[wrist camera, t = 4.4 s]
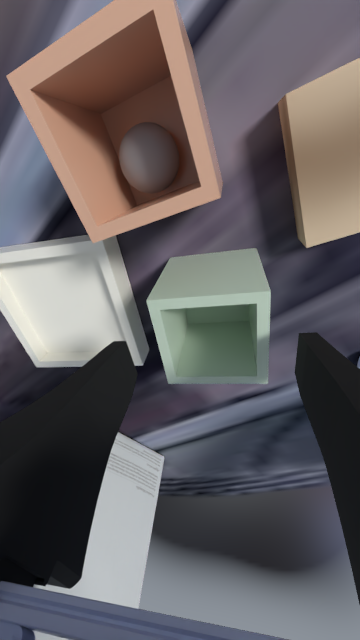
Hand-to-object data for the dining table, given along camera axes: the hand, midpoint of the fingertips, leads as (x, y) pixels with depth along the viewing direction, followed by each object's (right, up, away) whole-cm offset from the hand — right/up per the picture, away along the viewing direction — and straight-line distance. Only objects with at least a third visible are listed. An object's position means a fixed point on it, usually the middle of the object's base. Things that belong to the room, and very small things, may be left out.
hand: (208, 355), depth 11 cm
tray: (-9, +3, +7) cm, 12 cm away
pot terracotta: (-2, +10, +1) cm, 10 cm away
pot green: (+1, +3, +5) cm, 6 cm away
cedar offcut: (+5, +9, +1) cm, 10 cm away
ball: (-3, +9, 0) cm, 9 cm away
